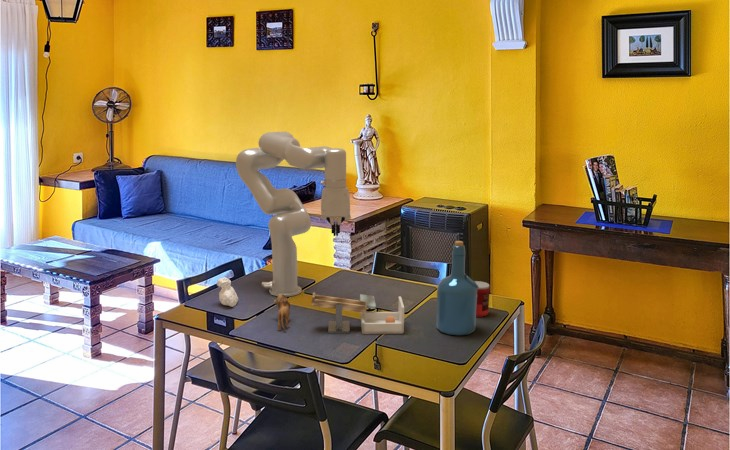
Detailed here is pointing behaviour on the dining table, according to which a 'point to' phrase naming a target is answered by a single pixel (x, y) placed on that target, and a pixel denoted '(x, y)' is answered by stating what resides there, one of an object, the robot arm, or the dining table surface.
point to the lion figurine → (283, 310)
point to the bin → (383, 321)
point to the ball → (390, 319)
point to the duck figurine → (227, 292)
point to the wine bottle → (457, 298)
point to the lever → (344, 302)
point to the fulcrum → (338, 322)
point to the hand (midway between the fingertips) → (335, 235)
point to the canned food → (482, 299)
